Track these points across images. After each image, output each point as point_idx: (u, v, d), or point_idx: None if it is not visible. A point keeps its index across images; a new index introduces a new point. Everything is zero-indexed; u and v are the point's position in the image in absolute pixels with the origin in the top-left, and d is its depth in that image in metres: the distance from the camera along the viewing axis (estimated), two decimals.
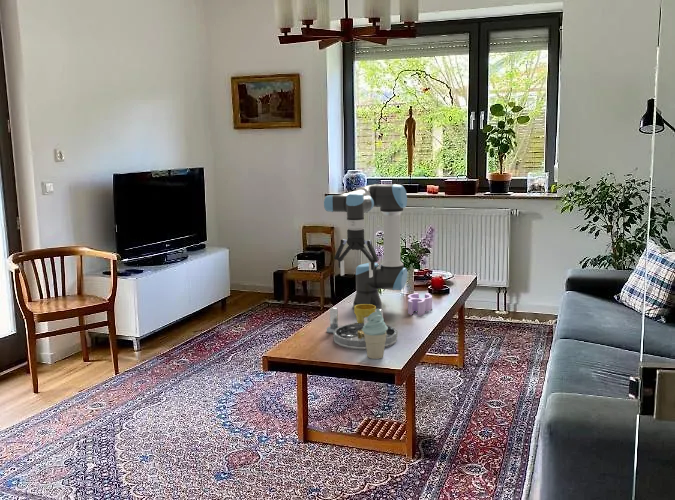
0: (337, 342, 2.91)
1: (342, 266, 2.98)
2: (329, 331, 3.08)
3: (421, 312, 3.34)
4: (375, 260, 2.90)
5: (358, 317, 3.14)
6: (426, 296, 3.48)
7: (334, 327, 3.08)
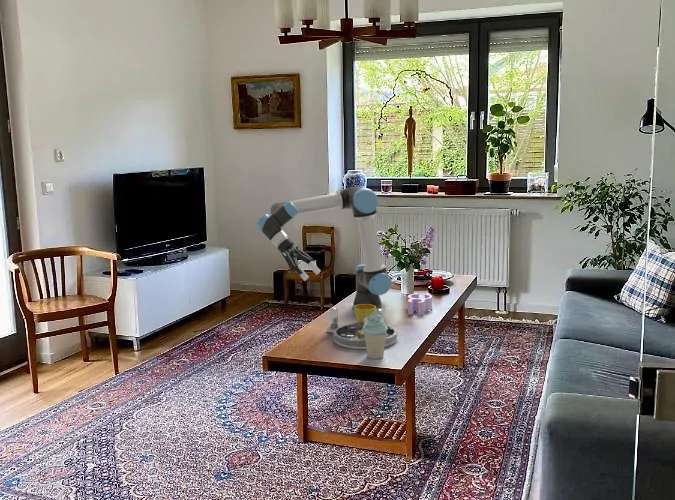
0: (337, 342, 2.91)
1: (311, 267, 3.16)
2: (329, 331, 3.08)
3: (421, 312, 3.34)
4: (291, 269, 3.03)
5: (358, 317, 3.14)
6: (426, 296, 3.48)
7: (334, 327, 3.08)
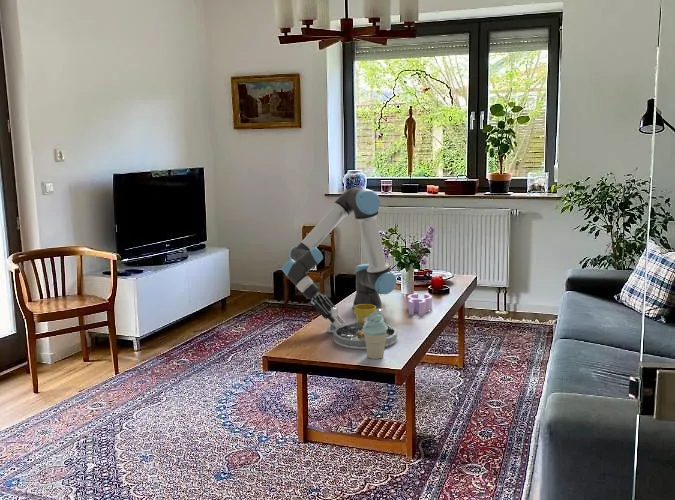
0: (337, 342, 2.91)
1: None
2: (329, 331, 3.08)
3: (422, 312, 3.34)
4: None
5: (358, 317, 3.14)
6: (426, 296, 3.48)
7: (334, 327, 3.08)
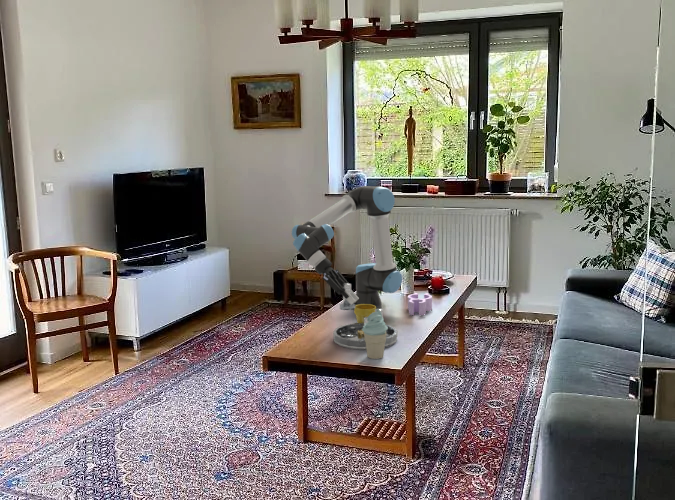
0: (337, 342, 2.91)
1: None
2: (342, 308, 2.95)
3: (422, 312, 3.33)
4: (337, 292, 2.93)
5: (358, 317, 3.14)
6: (425, 296, 3.48)
7: (347, 303, 2.96)
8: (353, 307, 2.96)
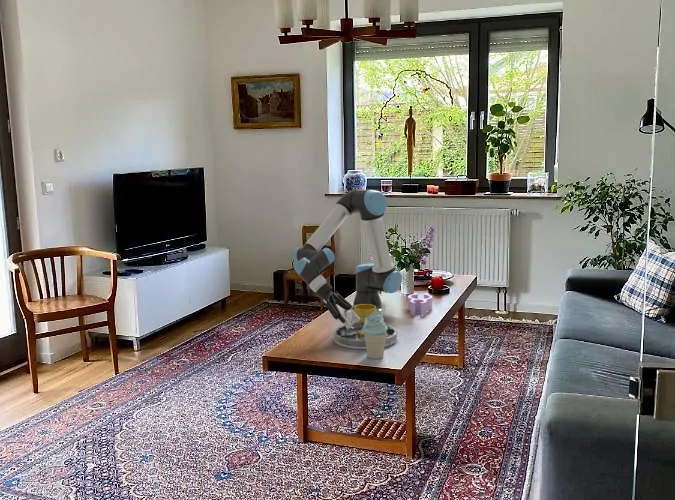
0: (337, 342, 2.91)
1: None
2: None
3: (424, 312, 3.33)
4: (334, 317, 2.93)
5: None
6: (425, 296, 3.48)
7: (348, 330, 2.98)
8: (354, 334, 2.98)
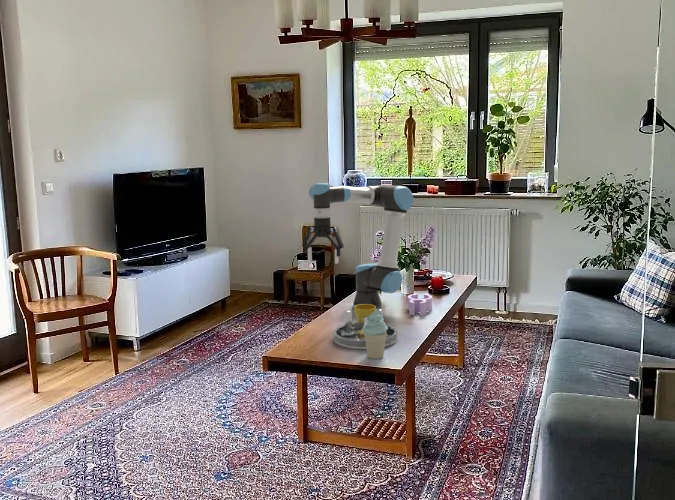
0: (337, 342, 2.91)
1: (309, 253, 3.11)
2: None
3: (423, 313, 3.33)
4: (340, 247, 3.04)
5: (358, 317, 3.14)
6: (425, 296, 3.47)
7: (348, 330, 2.98)
8: (354, 334, 2.98)
